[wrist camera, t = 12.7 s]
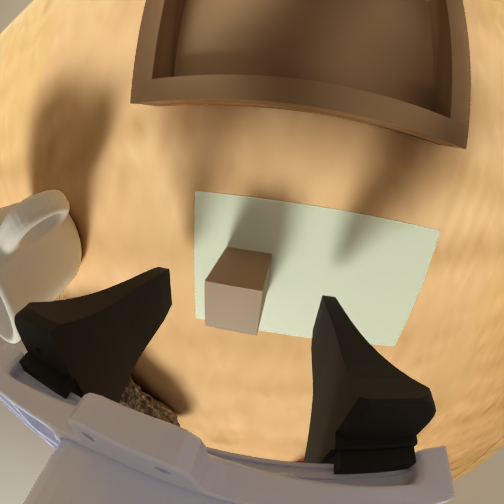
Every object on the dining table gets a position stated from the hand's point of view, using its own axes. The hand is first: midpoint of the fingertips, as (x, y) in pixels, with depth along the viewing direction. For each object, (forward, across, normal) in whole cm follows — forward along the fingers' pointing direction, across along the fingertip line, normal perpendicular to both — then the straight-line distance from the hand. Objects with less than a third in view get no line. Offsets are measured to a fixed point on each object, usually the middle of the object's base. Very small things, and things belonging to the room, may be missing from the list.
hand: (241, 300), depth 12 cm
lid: (+3, -3, 0) cm, 5 cm away
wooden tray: (+3, -1, -14) cm, 15 cm away
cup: (+3, +14, -1) cm, 14 cm away
